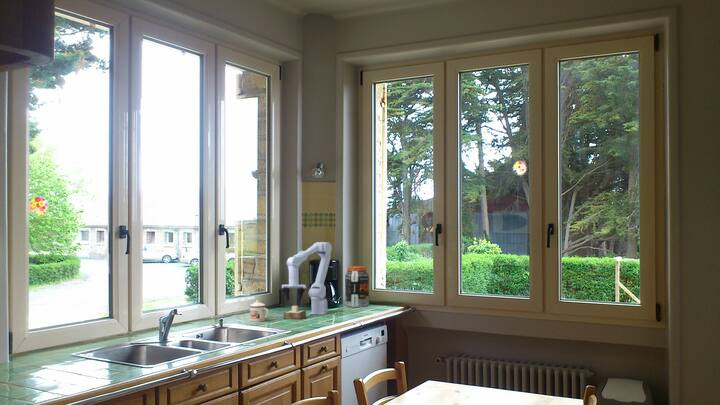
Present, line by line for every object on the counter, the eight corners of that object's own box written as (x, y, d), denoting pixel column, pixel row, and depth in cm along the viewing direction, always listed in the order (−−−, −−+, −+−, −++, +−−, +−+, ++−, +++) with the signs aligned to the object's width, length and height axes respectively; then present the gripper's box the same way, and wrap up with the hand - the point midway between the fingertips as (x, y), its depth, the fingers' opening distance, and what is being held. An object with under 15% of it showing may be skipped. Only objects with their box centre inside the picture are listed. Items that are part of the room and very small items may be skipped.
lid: (304, 312, 386) (303, 305, 387) (299, 314, 378) (299, 307, 378) (290, 311, 389) (290, 305, 389) (285, 313, 381) (285, 306, 381)
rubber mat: (288, 315, 396) (288, 314, 396) (283, 317, 387) (283, 316, 387) (274, 314, 398) (274, 314, 398) (269, 317, 389) (268, 316, 389)
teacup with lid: (246, 321, 374) (246, 301, 374) (255, 319, 382) (255, 299, 382) (264, 322, 368) (263, 301, 369) (273, 320, 377) (272, 300, 377)
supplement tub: (360, 308, 422) (360, 267, 423) (340, 306, 430) (340, 267, 431) (373, 305, 435) (373, 266, 436) (354, 303, 444) (353, 265, 444)
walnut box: (305, 317, 387) (305, 310, 387) (300, 319, 377) (299, 312, 377) (290, 316, 390) (289, 310, 390) (283, 319, 380) (283, 312, 380)
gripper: (279, 277, 385) (279, 301, 385) (302, 278, 381) (303, 301, 381) (284, 276, 392) (284, 299, 391) (307, 277, 388) (307, 300, 387)
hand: (294, 300), depth 386 cm, fingers open, 7 cm apart
